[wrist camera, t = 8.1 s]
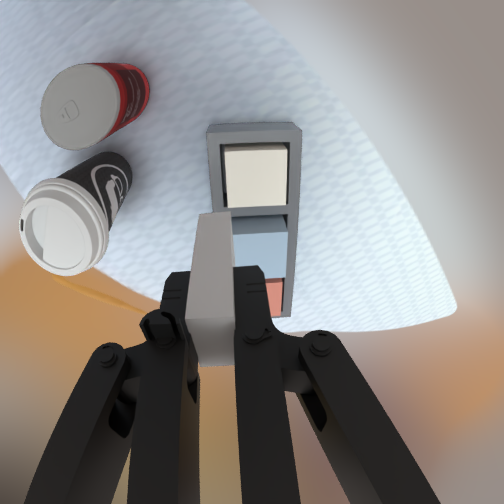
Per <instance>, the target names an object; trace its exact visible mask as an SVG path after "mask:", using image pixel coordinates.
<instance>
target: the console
mask: <svg viewBox="0 0 504 504" xmlns="http://www.w3.org/2000/svg"><path fill="white" fill-rule="evenodd" d="M206 135H207V149H208V162H209V174H210V186H211V197H212V208H213V213H216V212H228V211H231V217H237V216H256V215H277V214H282V216H283V218H284V221H285V224H286V227H287V230H288V242H287V262H286V277H283V278H282V282H283V283H282V301H281V316H271V318H280V317H291V307H292V296H293V285H294V273H295V260H296V246H297V231H298V215H299V197H300V177H301V152H302V130H301V129H300V128H299V127H298V126H296V125H295V124H294V123H293V122H256V123H231V124H215V125H209V128H208V131H207V133H206ZM254 142H282V143H283V144H284V146H285V147H286V149H287V185H286V205H277V206H255V207H236V208H228V200H227V185H226V168H225V144H232V143H254Z"/></svg>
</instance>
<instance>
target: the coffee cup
mask: <svg viewBox="0 0 504 504" xmlns="http://www.w3.org/2000/svg"><path fill="white" fill-rule="evenodd" d="M131 183H132V172H131V168H130V166H129V164H128V163H127V161H126V160H125V159H124V158H123V157H122V156H120V155H118V154H116V153H113V152H103V153H100V154H97V155H96V156H94V157H92V158H90V159H88V160H86V161H84V162H83V163H81V164H79V165H77V166H76V167H74V168H72V169H70V170H69V171H67V172H65V173H63V174H62V175H60V176H58V177H57V178H50V179H46V180H43V181H41V182H39V183H38V184H36V185H35V186H34V187H33V188H32V189H31V191H30V192H29V194H28V195H27V197H26V199H25V201H24V205H23V207H22V212H21V216H20V221H19V230H20V236H21V239H22V242H23V245H24V247H25V249H26V250H27V252H28V253H29V255H30V256H31V257H32V259H33V260H34V261H35V262H36V263H37V264H38V265H40V266H41V267H42V268H44V269H46V270H47V271H49V272H51V273H54V274H57V275H61V276H72V275H76V274H78V273H80V272H83V271H86V270H88V269H90V268H91V267H93V266H94V265H95V264H96V263H98V262H99V261H100V260H101V259H102V257H103V256H104V254H105V252H106V250H107V247H108V242H109V231H110V228H111V226H112V224H113V222H114V219H115V217H116V215H117V213H118V211H119V209H120V207H121V205H122V203H123V201H124V198H125V196H126V194H127V192H128V190H129V188H130V186H131Z"/></svg>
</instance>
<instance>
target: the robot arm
mask: <svg viewBox="0 0 504 504" xmlns="http://www.w3.org/2000/svg"><path fill="white" fill-rule="evenodd" d="M163 291H164V292H163V295H162V300H161V304H160V309H157V310H153V311H152V312H150V313H147V314H146V315H145V316H144V317H143V318H142V320H141V322H140V324H139V325H140V327H141V329H142V332H143V333H144V336H145V338H146V340H147V341H145V342H144V343H142V344H139V345H136V346H133V347H129V348H126V349H123V347H122V346H121V345H119V344H117V343H110V342H109V343H106V344H102V345H101V346H99V347H98V348H97V349H96V350H95V351H94V352H93V354H92V356H91V357H90V359H89V361H88V363H87V365H86V367H85V368H84V370H83V372H82V374H81V376H80V378H79V380H78V382H77V384H76V385H75V387H74V389H73V391H72V393H71V395H70V397H69V399H68V401H67V403H66V405H65V407H64V409H63V411H62V414H61V416H60V418H59V420H58V422H57V424H56V426H55V429H54V431H53V433H52V435H51V437H50V439H49V442H48V444H47V446H46V448H45V451H44V453H43V455H42V458H41V460H40V462H39V465H38V467H37V470H36V472H35V475H34V477H33V480H32V483H31V485H30V488H29V491H28V494H27V496H26V499H25V502H24V504H111V502H112V499H113V497H114V493H115V491H116V488H117V485H118V482H119V479H120V476H121V473H122V471H123V468H124V465H125V462H126V460H127V457H128V454H129V451H130V449H131V456H130V466H129V479H128V495H127V504H200V484H199V483H200V481H199V407H200V406H199V405H200V377H199V373H198V362H199V365H200V367H208V366H227V365H235V386H236V407H237V425H238V442H239V461H240V475H241V491H242V504H301V502H300V495H299V488H298V481H297V473H296V466H295V459H294V452H293V446H292V439H291V432H290V425H289V418H288V412H287V405H286V398H285V392H284V391H289V392H295V393H296V395H297V397H298V399H299V401H300V403H301V405H302V407H303V409H304V411H305V414H306V416H307V418H308V420H309V422H310V424H311V426H312V428H313V430H314V432H315V434H316V436H317V438H318V440H319V442H320V444H321V446H322V448H323V450H324V452H325V454H326V456H327V458H328V460H329V462H330V464H331V466H332V468H333V470H334V472H335V474H336V476H337V478H338V480H339V482H340V484H341V486H342V488H343V490H344V492H345V494H346V496H347V498H348V500H349V502H350V504H441V503H440V502H439V500H438V498H437V497H436V495H435V493H434V491H433V490H432V488H431V486H430V484H429V483H428V481H427V479H426V478H425V476H424V474H423V473H422V471H421V469H420V468H419V466H418V464H417V463H416V461H415V459H414V458H413V456H412V454H411V453H410V451H409V449H408V448H407V446H406V444H405V443H404V441H403V439H402V438H401V436H400V434H399V433H398V431H397V430H396V428H395V426H394V425H393V423H392V421H391V420H390V418H389V417H388V415H387V414H386V412H385V410H384V409H383V407H382V405H381V404H380V402H379V401H378V399H377V397H376V396H375V394H374V393H373V391H372V389H371V388H370V386H369V385H368V383H367V382H366V380H365V378H364V377H363V375H362V374H361V372H360V371H359V369H358V367H357V366H356V365H355V363H354V361H353V360H352V358H351V357H350V355H349V353H348V352H347V350H346V349H345V347H344V346H343V344H342V343H341V341H340V340H339V339H338V338H337V336H336V335H334V334H333V333H331V332H329V331H324V330H316V331H311V332H309V333H307V334H306V335H305V336H304V337H303V338H302V337H296V336H290V335H287V334H284V333H282V332H280V331H279V330H278V329H277V328H276V327H275V326H274V325H273V322H272V319H271V313H270V307H269V300H268V294H267V288H266V281H265V275H264V272H263V271H262V270H261V268H260V267H259V266H258V265H252V266H239V267H235V253H234V243H233V232H232V222H231V211H228V212H216V213H205V214H199V219H198V225H197V231H196V238H195V245H194V252H193V259H192V266H191V271H184V272H172V273H171V274H170V276H169V277H168V278H167V280H166V281H165V285H164V290H163Z"/></svg>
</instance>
